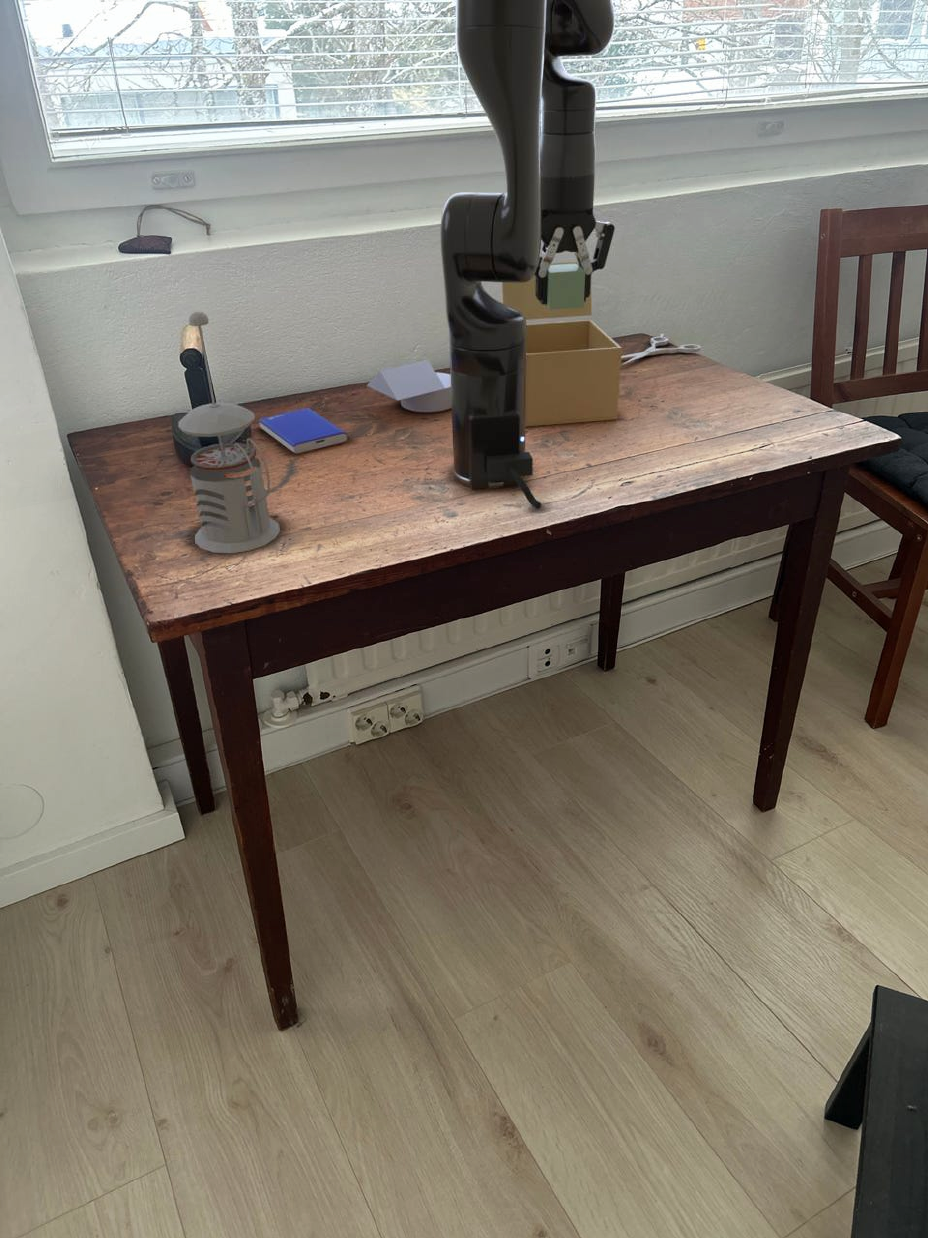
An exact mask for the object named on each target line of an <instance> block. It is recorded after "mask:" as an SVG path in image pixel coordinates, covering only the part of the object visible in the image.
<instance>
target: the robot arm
mask: <svg viewBox="0 0 928 1238" xmlns="http://www.w3.org/2000/svg"><path fill="white" fill-rule="evenodd" d="M615 28H616V13H615V6H614V3H613V0H455V48H456V54H457V57H458V61H459V64H460V66H461V68H462V71H463V74H464V75H465V77H466V79H467V81H468V84H469V86H470V87H471V90H472V91H473V93H474V96H475V97H476V99H477V100H478V102H479V104H480V106H481V107H482V110H483V111H484V113H485V115H486V117H487V119H488V121H489V123H490V125H491V127H492V130H493V132H494V134H495V137H496V139H497V142H498V145H499V147H500V151H501V155H502V159H503V164H504V172H505V179H506V180H505V181H506V182H505V183H506V192H456V193H454V194H452V195H450V197H449V198H448V199H447V201H446V202H445V204H444V206H443V209H442V213H441V220H440V240H439V241H440V255H441V266H442V275H443V286H444V301H445V302H444V303H445V315H446V316H445V317H446V323H447V328H448V342H449V368H450V369H449V373H450V375H451V403H452V408H451V427H452V451H453V452H452V453H453V455H452V456H453V467H452V473H453V477H454V479H455V480H456V481H457V482H458V483H460V484H463V485H465V486H467V487H469V488H470V489H471V491H476V490H477V491H478V490H487V489H488V490H489V489H500V488H509V487H511V488H512V487H519V489H520V490H521V491H522V493H523V495H524V497H525V498H526V499H527V502H528V503H529V504H530V505H531V506H532V507H533V508H535V509H538V510H539V509H540V508H541V507H542V503H541V502H540V501H538V500H537V499H536V498H535V496H534V495H533V493H532V491H531V490H530V488H529V486H528V484H526V482H525V480H524V479H525V477H528V476H529V477H531V476H533V472H534V471H533V467H534V464H533V462H534V458H533V456H532V455H531V453H530V451H526V427H525V423H526V334H527V326H526V324H527V320H525V317H524V316H523V315H522V313H520V312H519V311H517V310H515V309H513V308H511V307H509V306H507V305H505V304H503V302H502V301H499V300H497V299H496V298H495V297H493V296H492V295H491V294H490V293H489V292H488V291H487V290H486V289H485V288H484V286H483V284H482V282H484V283H502V282H506V283H524V282H528V281H529V280H531V278H532V277H533V276H534V275H535V277H536V284H535V287H536V288H535V295H536V298H537V299H538V300H539V301H540V303H541V304H542V305H545V304H547V292H548V278H547V277H546V275H547V273H548V270H549V267H550V264H551V263H553V261H554V259H555V256H556V254H562V253H564V252H569V253H574V255H575V256H574V257H576V262H578V264H579V266H580V267H581V268H582V269H584V270H585V287H584V302H585V301H586V298H588V297H589V295H590V285H591V286H592V274H593V273H594V272H596V271H597V270H603V269H604V268H605V266H606V263H607V259H608V255H609V253H610V248H611V244H612V241H613V237H614V233H615V229H616V227H615V225H614V224H613V223H611V222H609V221H607V220H605V221H599V220H596V219H597V218H596V217H595V215H594V198H595V177H596V155H597V154H596V153H597V152H596V151H597V150H596V148H597V147H596V135H595V134H596V133H595V131H596V130H595V129H596V112H597V111H596V110H597V109H596V108H597V88H596V85H595V84H594V82H593V81H591V80H589V79H586V78H581V77H577V76H574V75H571V74H569V73H568V72H567V70H566V69H565V66H564V64H563V60H562V57H593V56H596V55H599V54H601V53H602V52H604V51H605V50H606V49H607V48H608V46H609V45H610V43H611V41H612V39H613V36H614V33H615ZM594 230H595V236H596V238H597V240H596V244H595V249H594V253H593V256H592V259H590V253H589V249H588V247H587V244H586V242H587V240H588V239H589V237H590V236H591V234H592V233H593V232H594Z"/></svg>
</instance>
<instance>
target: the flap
mask: <svg viewBox="0 0 928 1238" xmlns="http://www.w3.org/2000/svg"><path fill="white" fill-rule="evenodd" d="M560 264H577V265H578V266H579V264H578V261H570V262H551V264H550V265H560ZM535 284H536V277H535V275H534V276H533V277H532V278H531V280H529V281H528V282H524V283H506V282H501V294H502V296H501V297H502V303H503V304H505V305H507V306H509V307H511V308H513V309H515V310H517V311H519V312H520V313H522V315H523V316H524V317H525V320H526V321H527V320H529V321H530V320H543V319H544V320H545V319H557V318H571V317H572V318H573V317H586V316H587V317H588V316H592V284H591V285H590V295H589V297H588V298H586V301H585V302H584V307H583V308H568V309H553V310H549V309H548V308H547V307H546V306H545V305H542V304H541V303H540V301H539V300H538V299H537V298H536V295H535V288H536V287H535Z"/></svg>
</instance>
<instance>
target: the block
mask: <svg viewBox="0 0 928 1238" xmlns="http://www.w3.org/2000/svg"><path fill="white" fill-rule="evenodd" d="M546 277H547V278H548V292H547V304H545V306H546V307H547V308H548V309H549V310H553V309H568V308H583V307H584V287H585V270H584V269H582V268H581V267H580V266H578V265H577V264H560V265H550V267H549V270H548V273H547V275H546Z"/></svg>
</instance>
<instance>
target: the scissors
mask: <svg viewBox="0 0 928 1238" xmlns="http://www.w3.org/2000/svg"><path fill="white" fill-rule="evenodd" d="M665 335H666V334H665V333H660V336H653V337H651V338H650V344H651V345H650V347H648V348H646V349H645V350H644V351H640V352H635V353H629V354H625V355H621V359H623V358H630V359H629V360H627V361H625V362H623V363H622V365H626V364H628V363H630V362H633V361H636V360H639V359H641V358H644V357H648V356H655V355H660V354H661V355H662V354H674V353H685V354H690V353H691V354H694V353H699V352H701V345H699V344H692V343H691V344H688V343H687V344H682V345H680V347H679V346H678V347H674V348H656V347H659V346H666V345H668V343H669V338H668V337H665ZM631 357H632V358H631Z"/></svg>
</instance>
